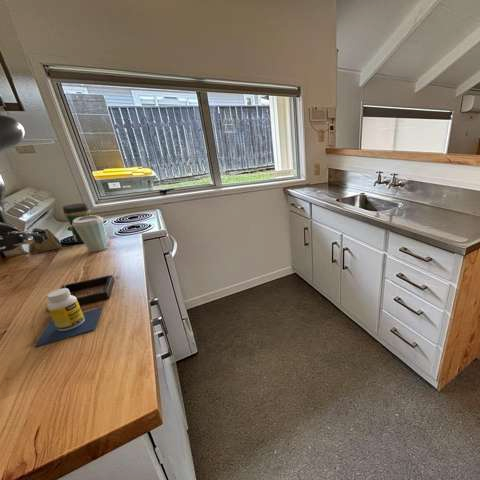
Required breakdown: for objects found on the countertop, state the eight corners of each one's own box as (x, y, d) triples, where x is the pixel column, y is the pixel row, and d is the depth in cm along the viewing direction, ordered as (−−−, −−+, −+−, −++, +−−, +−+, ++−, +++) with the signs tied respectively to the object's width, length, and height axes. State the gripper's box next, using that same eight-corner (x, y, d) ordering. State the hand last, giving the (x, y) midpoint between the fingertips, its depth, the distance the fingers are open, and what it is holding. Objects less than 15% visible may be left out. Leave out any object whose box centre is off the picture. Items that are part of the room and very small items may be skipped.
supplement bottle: (76, 330, 65) (61, 297, 61) (51, 333, 64) (35, 299, 61) (90, 316, 70) (77, 285, 66) (67, 319, 69) (53, 287, 66)
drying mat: (34, 347, 60) (34, 346, 60) (50, 321, 69) (50, 320, 69) (94, 330, 65) (94, 329, 65) (102, 308, 74) (101, 307, 74)
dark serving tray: (51, 313, 72) (48, 305, 72) (65, 292, 83) (62, 285, 82) (109, 298, 79) (106, 291, 78) (114, 281, 89) (112, 274, 88)
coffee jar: (98, 235, 135) (86, 201, 129) (101, 239, 130) (88, 203, 124) (74, 240, 129) (60, 204, 122) (76, 244, 124) (61, 207, 117)
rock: (21, 252, 109) (51, 244, 113) (17, 234, 111) (46, 227, 115) (38, 258, 119) (65, 251, 123) (34, 242, 121) (61, 235, 125)
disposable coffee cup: (115, 248, 118) (104, 217, 112) (84, 256, 110) (72, 222, 105) (109, 243, 124) (99, 213, 119) (80, 250, 117) (68, 218, 111)
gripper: (-50, 230, 66) (-36, 239, 58) (28, 217, 77) (49, 223, 70) (-36, 257, 68) (-20, 269, 61) (38, 240, 80) (59, 249, 72)
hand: (17, 245), depth 65 cm, fingers open, 8 cm apart
